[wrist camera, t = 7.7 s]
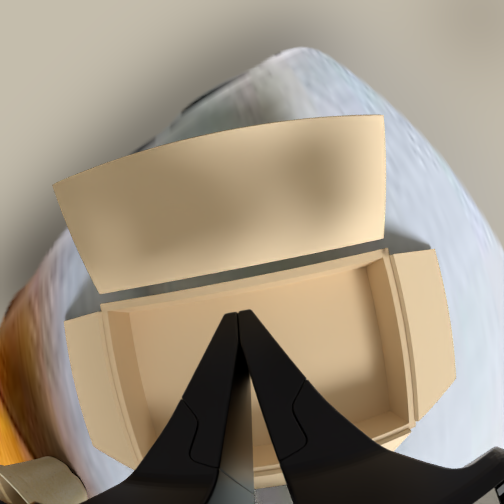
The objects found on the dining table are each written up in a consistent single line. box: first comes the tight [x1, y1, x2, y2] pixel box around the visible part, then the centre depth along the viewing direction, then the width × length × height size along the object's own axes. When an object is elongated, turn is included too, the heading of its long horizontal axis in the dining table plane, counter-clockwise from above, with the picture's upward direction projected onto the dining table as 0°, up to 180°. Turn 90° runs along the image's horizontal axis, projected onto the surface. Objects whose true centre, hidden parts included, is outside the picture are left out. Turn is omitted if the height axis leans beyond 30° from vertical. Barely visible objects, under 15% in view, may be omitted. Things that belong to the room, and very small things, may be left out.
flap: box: [53, 115, 386, 294], centre depth 13 cm, size 1×17×7 cm
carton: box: [64, 248, 456, 489], centre depth 15 cm, size 16×30×4 cm, turn 101°
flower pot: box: [0, 456, 87, 504], centre depth 10 cm, size 9×9×9 cm
